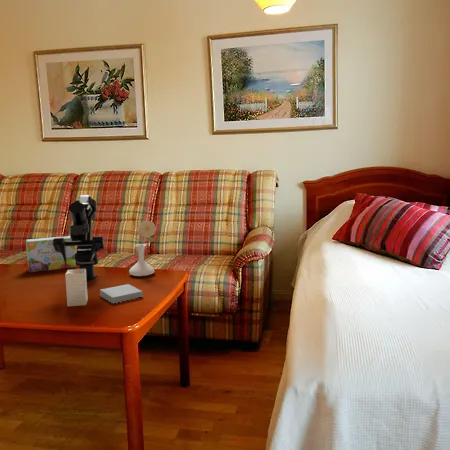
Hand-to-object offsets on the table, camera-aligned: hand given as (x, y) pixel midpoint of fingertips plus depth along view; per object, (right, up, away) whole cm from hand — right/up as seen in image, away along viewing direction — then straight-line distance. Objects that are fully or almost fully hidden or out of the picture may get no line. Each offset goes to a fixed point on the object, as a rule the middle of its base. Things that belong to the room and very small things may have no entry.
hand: (77, 261), depth 169 cm
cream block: (+2, -15, -6) cm, 16 cm away
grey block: (+16, -14, +1) cm, 21 cm away
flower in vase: (+19, -9, +31) cm, 38 cm away
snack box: (-27, -7, +44) cm, 52 cm away
